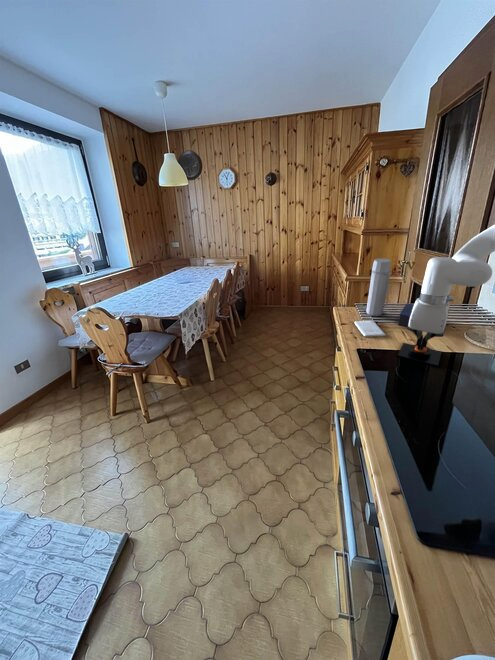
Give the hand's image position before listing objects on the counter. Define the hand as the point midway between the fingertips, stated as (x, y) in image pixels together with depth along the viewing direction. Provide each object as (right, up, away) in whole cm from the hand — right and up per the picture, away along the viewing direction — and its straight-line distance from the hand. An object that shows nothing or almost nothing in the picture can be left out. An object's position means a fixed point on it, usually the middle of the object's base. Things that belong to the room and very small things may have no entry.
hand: (420, 347), depth 97 cm
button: (0, -2, +1) cm, 2 cm away
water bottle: (0, +13, +34) cm, 37 cm away
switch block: (0, -3, +2) cm, 4 cm away
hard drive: (-9, +6, +20) cm, 23 cm away
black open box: (+15, +9, +24) cm, 30 cm away
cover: (+14, +13, +22) cm, 29 cm away
